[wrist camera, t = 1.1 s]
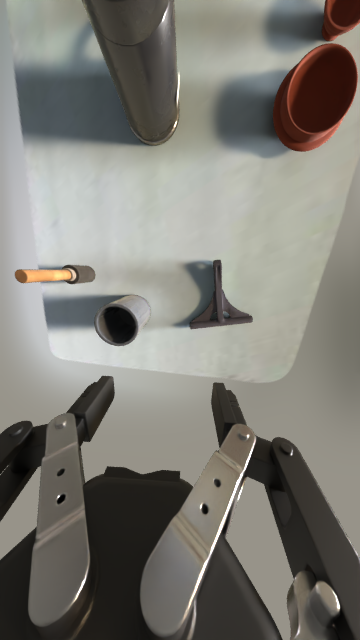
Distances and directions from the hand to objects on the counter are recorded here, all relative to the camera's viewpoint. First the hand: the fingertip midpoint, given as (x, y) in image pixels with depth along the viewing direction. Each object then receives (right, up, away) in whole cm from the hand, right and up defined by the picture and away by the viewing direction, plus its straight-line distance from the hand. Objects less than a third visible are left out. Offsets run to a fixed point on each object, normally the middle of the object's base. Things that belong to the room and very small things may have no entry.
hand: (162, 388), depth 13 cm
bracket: (+10, +11, +25) cm, 30 cm away
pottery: (+24, +45, +15) cm, 53 cm away
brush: (-20, +16, +25) cm, 36 cm away
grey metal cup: (-10, +8, +27) cm, 30 cm away
